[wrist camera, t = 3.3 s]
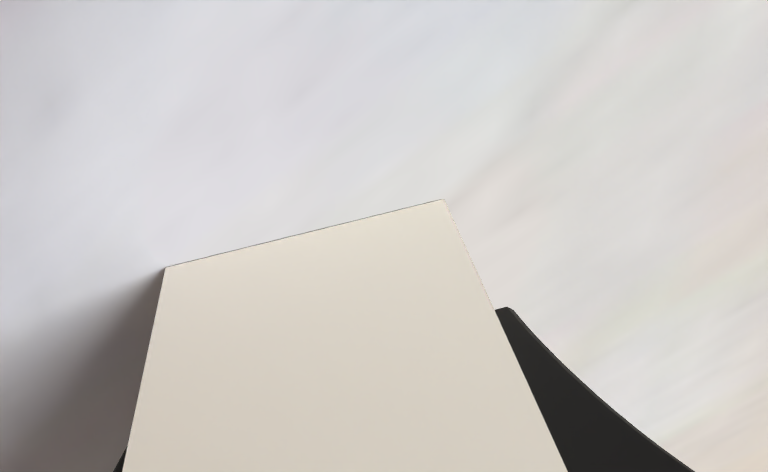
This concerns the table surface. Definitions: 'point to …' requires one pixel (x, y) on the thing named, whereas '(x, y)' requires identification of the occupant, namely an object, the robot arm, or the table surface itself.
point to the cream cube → (336, 360)
